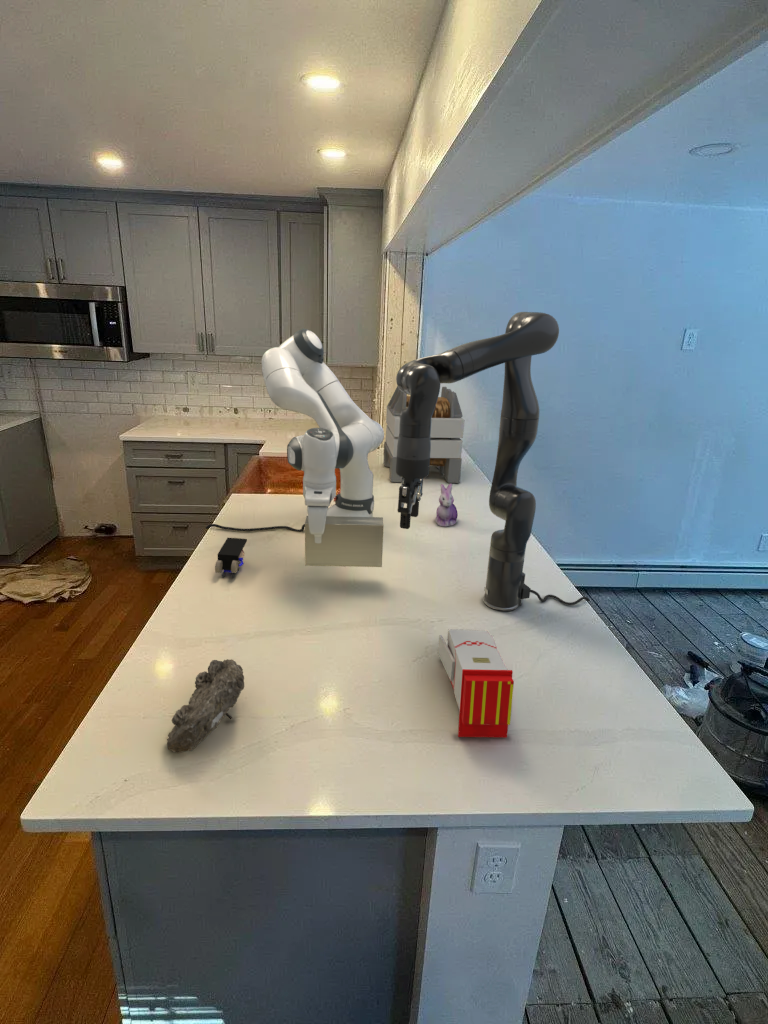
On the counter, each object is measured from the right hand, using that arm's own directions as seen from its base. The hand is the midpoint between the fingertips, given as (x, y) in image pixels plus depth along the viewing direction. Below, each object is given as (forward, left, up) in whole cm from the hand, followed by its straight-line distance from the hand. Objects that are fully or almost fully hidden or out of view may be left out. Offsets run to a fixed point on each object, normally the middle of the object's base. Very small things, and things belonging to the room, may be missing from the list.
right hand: (409, 522), depth 133 cm
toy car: (+37, -43, -28) cm, 63 cm away
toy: (-4, +28, -28) cm, 40 cm away
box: (+8, -26, -21) cm, 35 cm away
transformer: (-60, -128, -28) cm, 144 cm away
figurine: (-43, -63, -28) cm, 81 cm away
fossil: (+48, +21, -28) cm, 59 cm away
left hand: (+15, -28, -14) cm, 35 cm away
